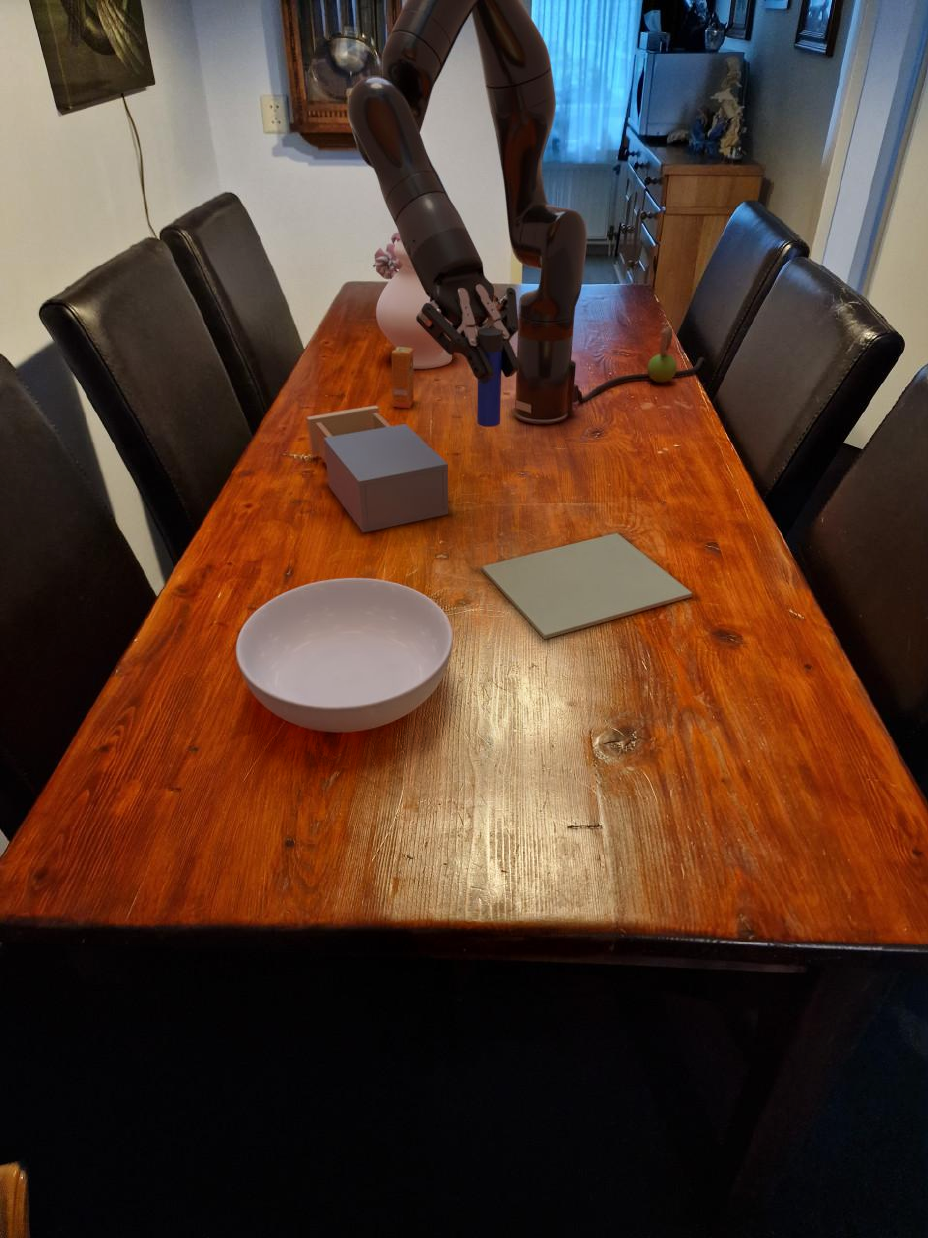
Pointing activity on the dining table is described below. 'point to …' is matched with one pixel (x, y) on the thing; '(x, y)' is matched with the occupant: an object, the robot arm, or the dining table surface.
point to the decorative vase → (408, 315)
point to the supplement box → (402, 377)
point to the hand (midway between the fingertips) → (500, 375)
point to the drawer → (341, 425)
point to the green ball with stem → (663, 359)
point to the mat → (583, 584)
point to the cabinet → (386, 477)
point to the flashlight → (491, 390)
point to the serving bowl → (345, 653)
